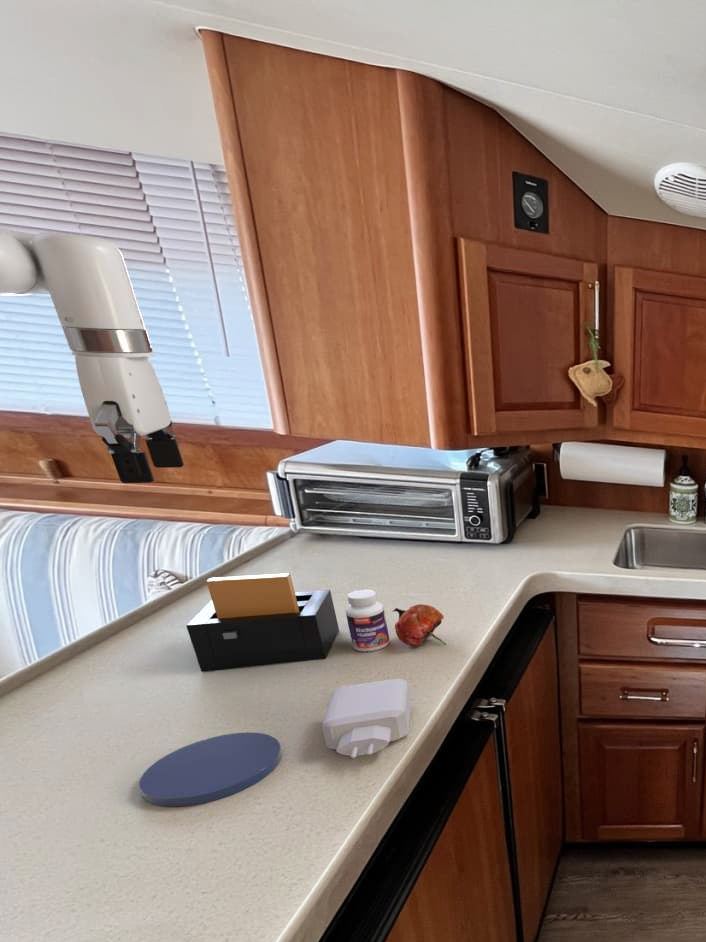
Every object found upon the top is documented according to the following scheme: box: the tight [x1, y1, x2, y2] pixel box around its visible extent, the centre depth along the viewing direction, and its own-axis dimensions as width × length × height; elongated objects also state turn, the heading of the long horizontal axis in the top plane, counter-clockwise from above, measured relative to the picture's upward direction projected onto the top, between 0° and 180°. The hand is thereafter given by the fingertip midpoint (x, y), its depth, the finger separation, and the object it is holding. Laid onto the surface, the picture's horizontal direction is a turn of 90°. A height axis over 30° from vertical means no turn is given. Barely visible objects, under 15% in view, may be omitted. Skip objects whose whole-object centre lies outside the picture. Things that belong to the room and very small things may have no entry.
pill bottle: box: [345, 589, 390, 653], centre depth 108 cm, size 5×5×10 cm
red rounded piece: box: [392, 603, 447, 647], centre depth 111 cm, size 7×7×10 cm
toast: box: [206, 572, 300, 619], centre depth 101 cm, size 10×2×12 cm, turn 114°
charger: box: [321, 678, 412, 759], centre depth 86 cm, size 5×9×15 cm
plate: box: [138, 732, 283, 808], centre depth 78 cm, size 13×13×1 cm
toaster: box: [186, 589, 340, 673], centre depth 104 cm, size 16×12×8 cm
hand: (154, 474), depth 89 cm, fingers open, 9 cm apart
